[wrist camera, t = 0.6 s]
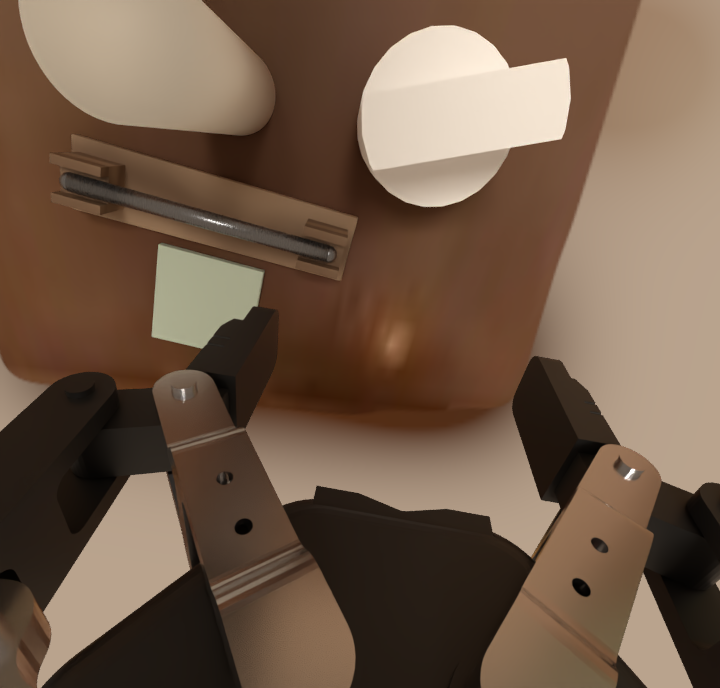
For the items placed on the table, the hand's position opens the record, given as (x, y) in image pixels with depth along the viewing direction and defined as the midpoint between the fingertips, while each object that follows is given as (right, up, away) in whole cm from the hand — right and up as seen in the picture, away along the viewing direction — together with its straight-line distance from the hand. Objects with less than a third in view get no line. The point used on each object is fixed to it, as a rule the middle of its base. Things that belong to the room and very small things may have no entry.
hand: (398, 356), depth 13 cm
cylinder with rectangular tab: (+3, +15, +16) cm, 22 cm away
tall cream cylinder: (-9, +17, +14) cm, 24 cm away
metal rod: (-12, +9, +15) cm, 21 cm away
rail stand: (-12, +10, +17) cm, 23 cm away
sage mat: (-14, +4, +21) cm, 25 cm away
